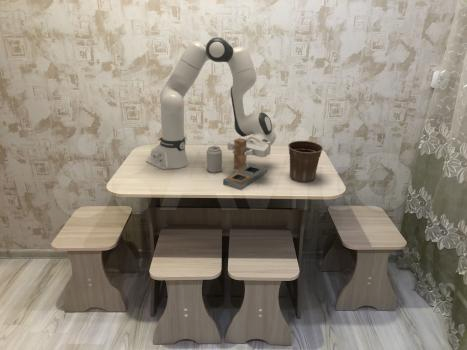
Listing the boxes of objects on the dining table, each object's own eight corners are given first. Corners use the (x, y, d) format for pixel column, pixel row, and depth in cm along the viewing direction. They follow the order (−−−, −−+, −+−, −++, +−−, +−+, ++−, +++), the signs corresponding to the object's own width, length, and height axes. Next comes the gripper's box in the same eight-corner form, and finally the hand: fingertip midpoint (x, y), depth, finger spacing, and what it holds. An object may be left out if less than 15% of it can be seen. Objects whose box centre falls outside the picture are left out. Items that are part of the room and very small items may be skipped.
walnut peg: (233, 169, 182) (234, 140, 177) (238, 166, 185) (239, 137, 180) (241, 170, 180) (241, 141, 175) (245, 168, 183) (246, 139, 178)
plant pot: (324, 183, 186) (328, 151, 180) (291, 185, 184) (293, 153, 177) (312, 170, 201) (316, 140, 194) (282, 171, 199) (284, 141, 192)
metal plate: (223, 184, 183) (223, 179, 182) (249, 168, 202) (250, 163, 201) (241, 189, 178) (241, 184, 177) (266, 172, 197) (267, 167, 196)
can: (223, 168, 201) (224, 146, 196) (218, 174, 194) (218, 151, 189) (210, 166, 203) (210, 144, 198) (204, 172, 196) (204, 149, 191)
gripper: (236, 134, 193) (220, 142, 183) (273, 142, 183) (258, 150, 173) (236, 146, 196) (220, 154, 185) (272, 155, 186) (258, 164, 175)
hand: (239, 152), depth 179 cm, fingers closed on walnut peg, 4 cm apart
